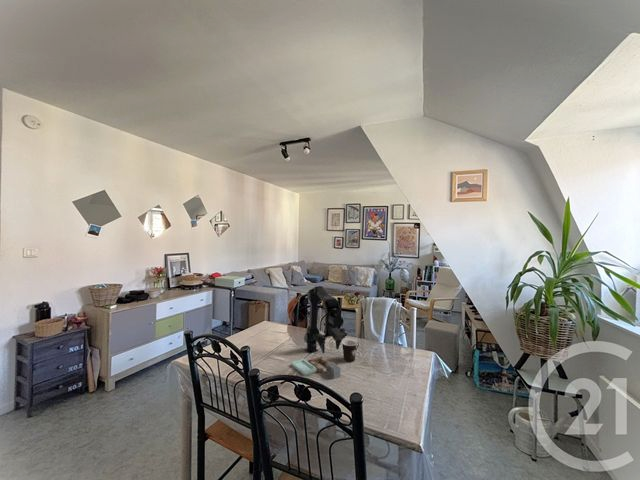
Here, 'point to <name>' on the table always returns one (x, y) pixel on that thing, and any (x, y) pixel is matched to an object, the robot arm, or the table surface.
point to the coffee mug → (349, 350)
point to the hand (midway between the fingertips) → (330, 351)
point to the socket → (317, 360)
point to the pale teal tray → (304, 367)
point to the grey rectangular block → (333, 370)
